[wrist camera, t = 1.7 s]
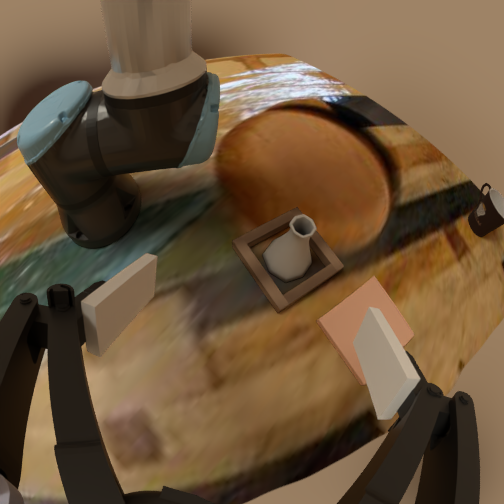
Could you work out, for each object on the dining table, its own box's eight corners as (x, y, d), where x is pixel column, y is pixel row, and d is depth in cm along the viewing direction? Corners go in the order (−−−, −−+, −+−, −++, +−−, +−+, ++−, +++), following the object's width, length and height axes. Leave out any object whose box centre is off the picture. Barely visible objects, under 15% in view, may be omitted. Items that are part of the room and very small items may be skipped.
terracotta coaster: (315, 320, 38) (318, 319, 37) (370, 278, 41) (374, 275, 40) (360, 385, 34) (364, 385, 33) (410, 335, 38) (414, 334, 36)
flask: (289, 230, 44) (304, 192, 35) (319, 264, 42) (343, 232, 33) (253, 254, 41) (261, 218, 32) (284, 291, 39) (301, 264, 30)
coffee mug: (485, 247, 48) (511, 227, 39) (464, 226, 49) (489, 203, 40) (487, 217, 52) (509, 197, 43) (466, 197, 54) (488, 175, 45)
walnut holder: (232, 246, 42) (232, 240, 40) (294, 213, 45) (297, 206, 43) (277, 313, 38) (280, 310, 36) (339, 271, 41) (344, 266, 40)
